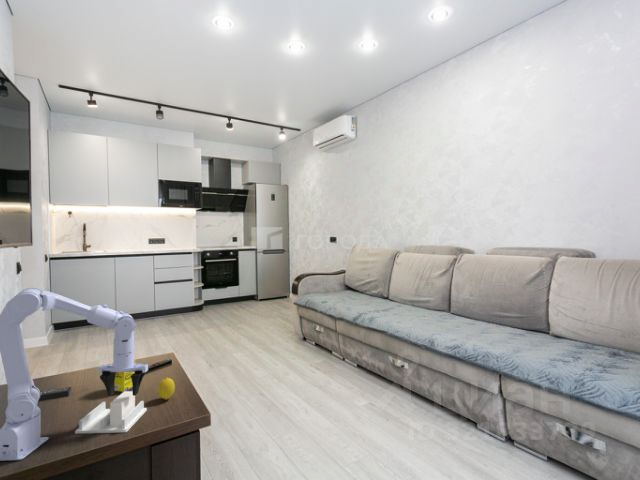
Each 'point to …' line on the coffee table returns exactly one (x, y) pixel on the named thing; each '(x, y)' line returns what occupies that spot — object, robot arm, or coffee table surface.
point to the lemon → (166, 388)
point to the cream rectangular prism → (121, 407)
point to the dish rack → (108, 420)
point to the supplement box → (123, 381)
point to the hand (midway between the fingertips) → (123, 394)
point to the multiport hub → (54, 393)
